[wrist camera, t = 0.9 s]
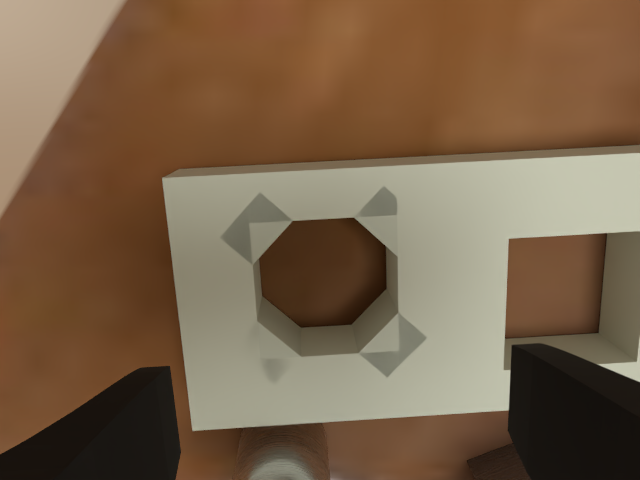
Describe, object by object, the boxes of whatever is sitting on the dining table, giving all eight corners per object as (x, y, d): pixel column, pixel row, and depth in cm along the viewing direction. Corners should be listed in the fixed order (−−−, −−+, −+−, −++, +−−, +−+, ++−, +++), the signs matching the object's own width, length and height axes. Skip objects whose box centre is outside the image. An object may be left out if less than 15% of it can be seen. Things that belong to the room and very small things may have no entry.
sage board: (646, 366, 22) (689, 398, 19) (204, 394, 21) (192, 430, 19) (670, 143, 20) (723, 148, 17) (179, 169, 19) (161, 178, 17)
